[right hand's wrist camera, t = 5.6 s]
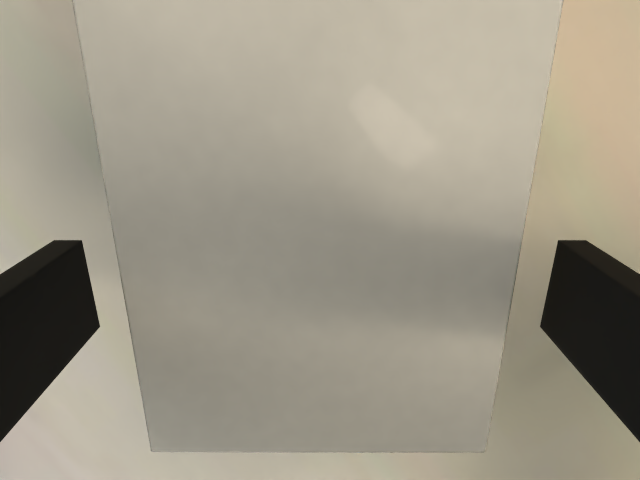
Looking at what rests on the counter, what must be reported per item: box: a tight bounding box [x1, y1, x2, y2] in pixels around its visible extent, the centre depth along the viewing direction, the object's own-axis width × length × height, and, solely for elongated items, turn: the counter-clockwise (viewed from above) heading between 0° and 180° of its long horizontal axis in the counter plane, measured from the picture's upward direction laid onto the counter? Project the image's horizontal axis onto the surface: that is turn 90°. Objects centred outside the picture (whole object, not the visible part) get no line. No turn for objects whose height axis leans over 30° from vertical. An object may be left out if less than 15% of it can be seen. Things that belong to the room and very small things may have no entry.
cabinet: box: [72, 0, 563, 452], centre depth 15 cm, size 18×10×10 cm, turn 0°
